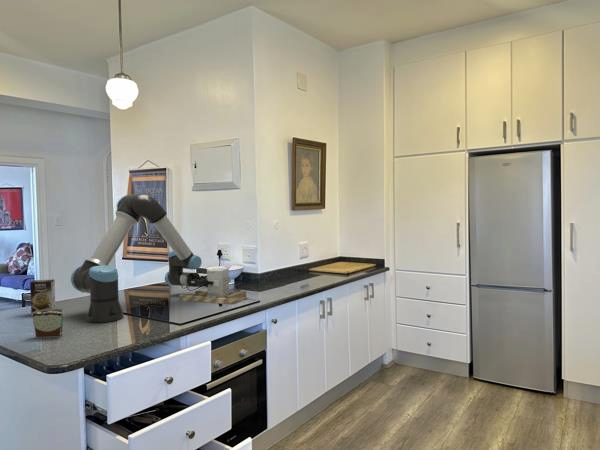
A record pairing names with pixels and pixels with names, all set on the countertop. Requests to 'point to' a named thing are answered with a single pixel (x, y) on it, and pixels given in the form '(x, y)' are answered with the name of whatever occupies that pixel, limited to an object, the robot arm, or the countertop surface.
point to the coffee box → (42, 295)
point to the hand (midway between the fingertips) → (225, 281)
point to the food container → (48, 322)
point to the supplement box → (223, 276)
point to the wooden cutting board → (215, 297)
